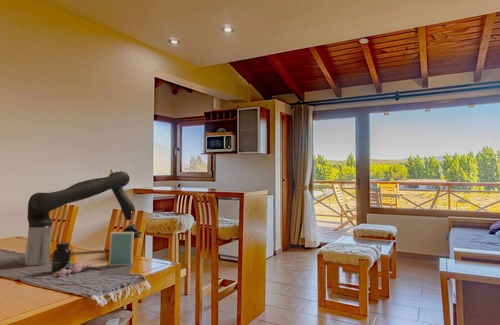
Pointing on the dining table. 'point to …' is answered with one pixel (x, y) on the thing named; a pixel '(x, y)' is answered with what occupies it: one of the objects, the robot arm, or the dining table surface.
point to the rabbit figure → (75, 269)
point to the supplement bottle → (61, 257)
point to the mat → (116, 270)
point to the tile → (121, 248)
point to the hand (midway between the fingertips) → (125, 237)
